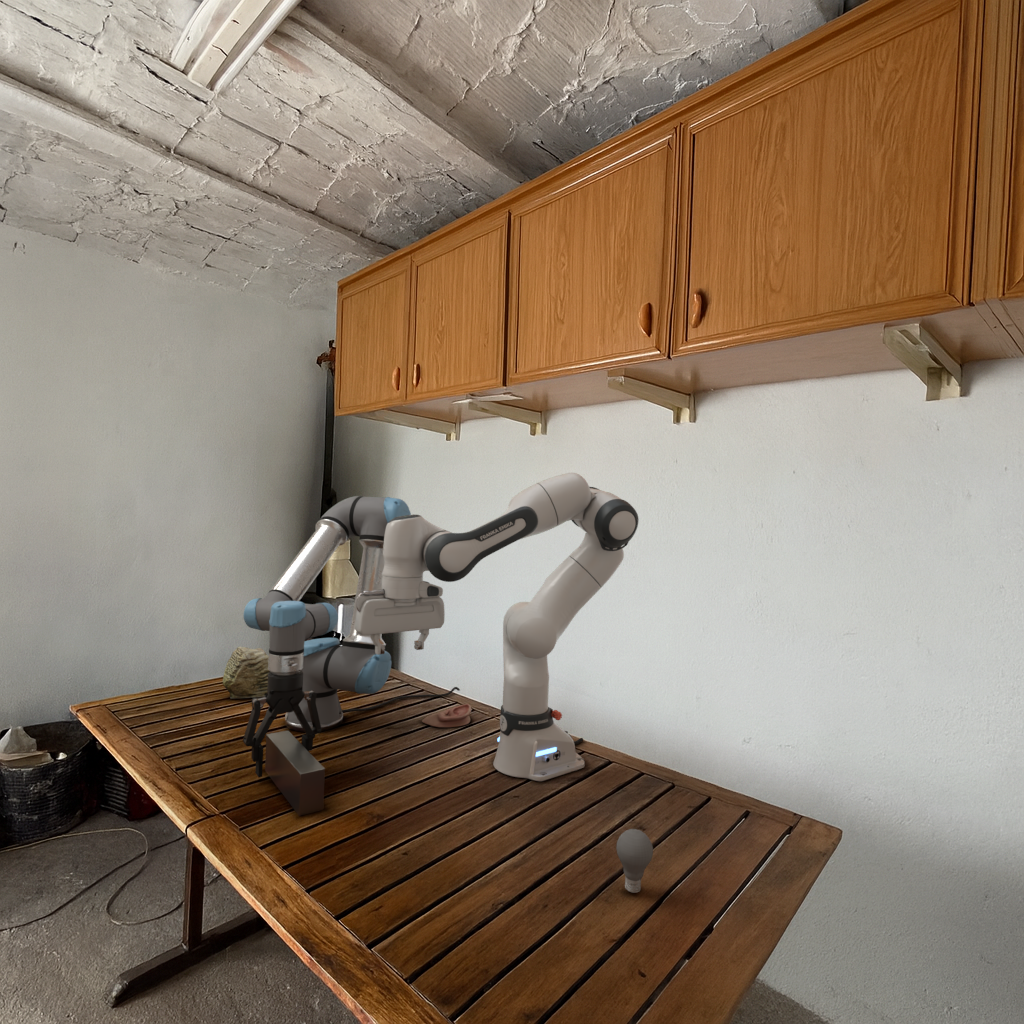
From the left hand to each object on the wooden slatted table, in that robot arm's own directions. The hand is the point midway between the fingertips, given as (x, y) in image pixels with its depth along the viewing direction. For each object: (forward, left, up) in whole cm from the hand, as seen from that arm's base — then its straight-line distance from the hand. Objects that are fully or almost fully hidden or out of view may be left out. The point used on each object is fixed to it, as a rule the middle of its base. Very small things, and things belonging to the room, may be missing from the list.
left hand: (282, 769), depth 143 cm
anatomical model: (-51, +1, -1) cm, 51 cm away
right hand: (-13, +23, +29) cm, 39 cm away
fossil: (-25, -57, -1) cm, 62 cm away
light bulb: (-16, +80, -1) cm, 81 cm away
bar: (+2, +7, -1) cm, 8 cm away
